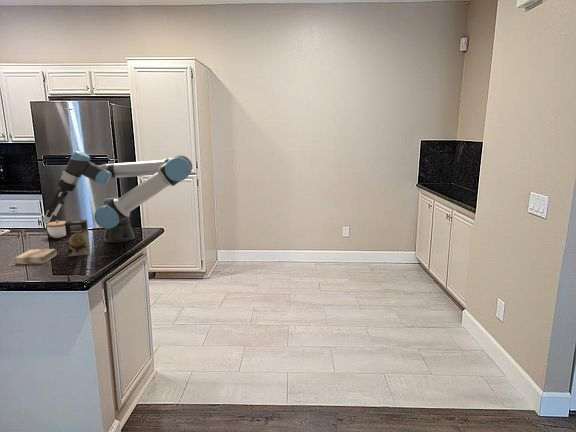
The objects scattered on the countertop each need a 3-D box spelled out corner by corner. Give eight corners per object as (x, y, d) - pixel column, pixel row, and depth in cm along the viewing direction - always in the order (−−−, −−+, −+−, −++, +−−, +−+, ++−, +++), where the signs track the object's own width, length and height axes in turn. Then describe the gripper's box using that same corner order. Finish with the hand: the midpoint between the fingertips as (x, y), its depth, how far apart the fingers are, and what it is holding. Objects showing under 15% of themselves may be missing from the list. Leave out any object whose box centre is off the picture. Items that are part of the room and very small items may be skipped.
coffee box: (68, 256, 181) (64, 223, 178) (69, 252, 187) (65, 220, 184) (89, 254, 185) (86, 221, 181) (90, 250, 191) (87, 219, 187)
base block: (57, 254, 184) (56, 248, 183) (44, 263, 172) (43, 256, 172) (30, 255, 183) (29, 249, 182) (15, 264, 171) (14, 257, 171)
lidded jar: (51, 234, 220) (49, 218, 218) (72, 233, 223) (70, 217, 221) (45, 239, 210) (42, 222, 208) (67, 238, 213) (64, 221, 211)
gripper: (67, 172, 197) (48, 208, 200) (53, 182, 175) (33, 222, 177) (81, 179, 200) (63, 214, 202) (70, 190, 177) (50, 229, 180)
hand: (49, 218), depth 190 cm, fingers open, 13 cm apart
